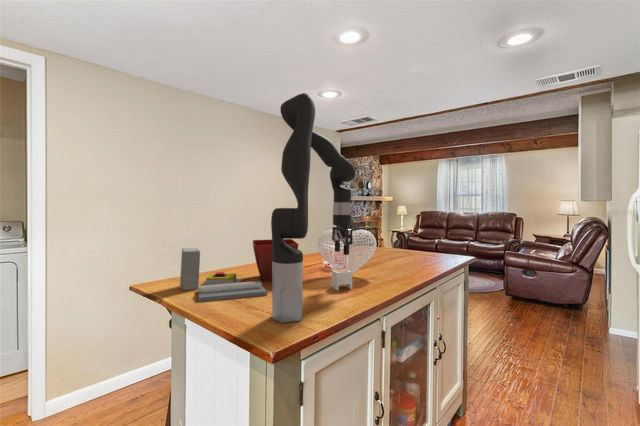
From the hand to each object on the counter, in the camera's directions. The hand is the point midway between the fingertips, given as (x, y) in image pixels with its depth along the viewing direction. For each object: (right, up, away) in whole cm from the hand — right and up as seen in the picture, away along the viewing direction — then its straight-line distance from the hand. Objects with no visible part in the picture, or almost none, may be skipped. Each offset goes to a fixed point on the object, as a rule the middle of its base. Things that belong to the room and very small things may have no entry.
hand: (341, 253), depth 133 cm
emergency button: (-51, -14, +9) cm, 54 cm away
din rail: (-42, -13, -9) cm, 45 cm away
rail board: (-42, -14, -9) cm, 46 cm away
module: (0, -14, 0) cm, 14 cm away
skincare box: (-62, -14, -1) cm, 63 cm away
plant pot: (-30, -14, +17) cm, 37 cm away
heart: (+4, -14, +21) cm, 25 cm away
